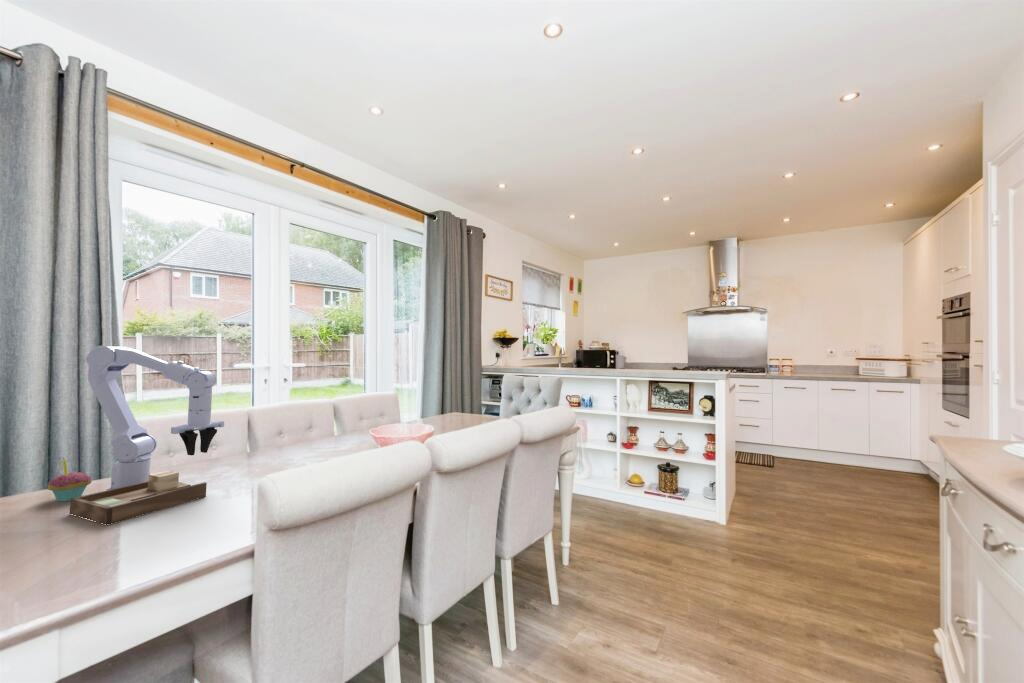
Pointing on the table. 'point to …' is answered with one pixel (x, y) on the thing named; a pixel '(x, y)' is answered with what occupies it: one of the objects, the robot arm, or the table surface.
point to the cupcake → (69, 484)
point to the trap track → (132, 501)
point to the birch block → (163, 480)
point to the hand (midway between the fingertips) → (197, 453)
